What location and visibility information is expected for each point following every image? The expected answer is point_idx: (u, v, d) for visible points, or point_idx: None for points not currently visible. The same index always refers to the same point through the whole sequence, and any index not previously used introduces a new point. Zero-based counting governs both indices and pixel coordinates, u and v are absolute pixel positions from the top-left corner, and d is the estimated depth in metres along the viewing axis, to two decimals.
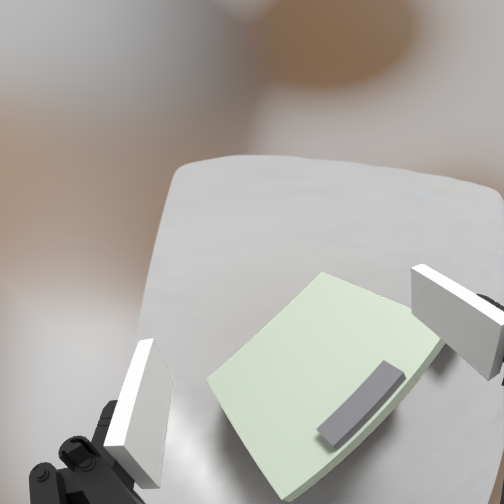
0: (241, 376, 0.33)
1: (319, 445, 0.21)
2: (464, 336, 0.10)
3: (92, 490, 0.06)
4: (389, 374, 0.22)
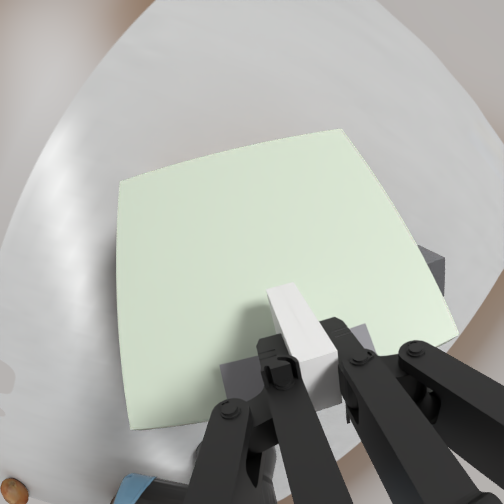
0: (162, 203, 0.23)
1: (212, 384, 0.16)
2: None
3: (281, 409, 0.08)
4: None
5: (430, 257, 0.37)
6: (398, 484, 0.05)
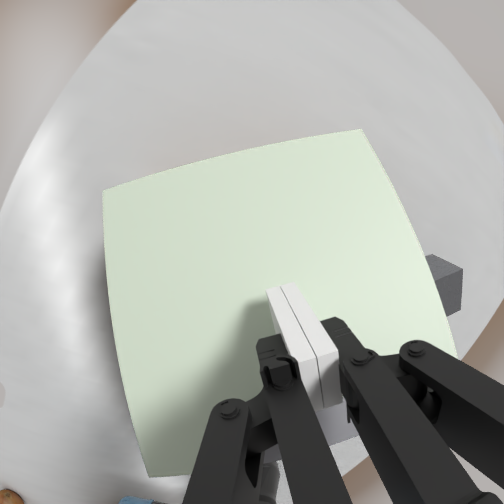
0: (155, 224, 0.20)
1: None
2: None
3: (280, 410, 0.08)
4: None
5: (447, 268, 0.34)
6: (398, 484, 0.05)
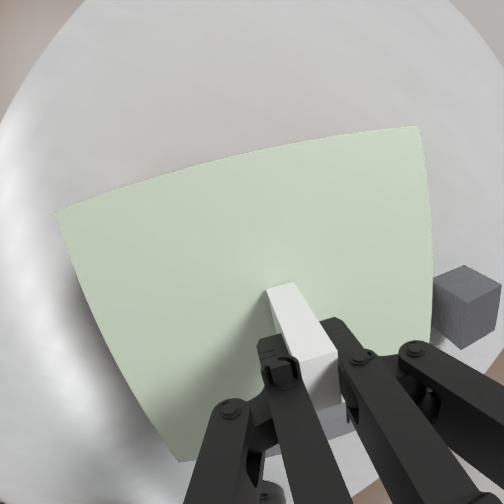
0: (143, 268, 0.15)
1: None
2: None
3: (281, 409, 0.08)
4: (351, 424, 0.19)
5: (485, 284, 0.26)
6: (398, 484, 0.05)
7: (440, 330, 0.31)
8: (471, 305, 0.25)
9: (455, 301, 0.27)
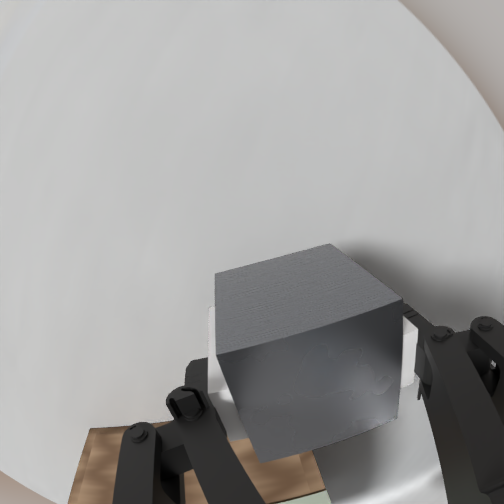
0: None
1: None
2: None
3: (192, 440, 0.07)
4: None
5: None
6: (454, 457, 0.05)
7: None
8: (270, 451, 0.10)
9: None
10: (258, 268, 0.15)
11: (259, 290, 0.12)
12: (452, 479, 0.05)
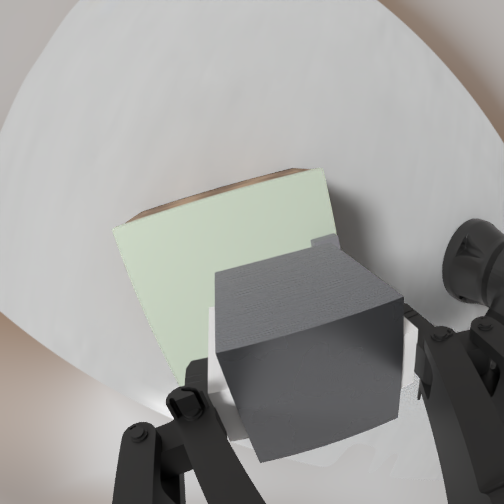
0: None
1: None
2: None
3: (192, 440, 0.07)
4: None
5: None
6: (454, 457, 0.05)
7: None
8: (270, 450, 0.10)
9: None
10: (258, 266, 0.15)
11: (259, 289, 0.12)
12: (452, 479, 0.05)
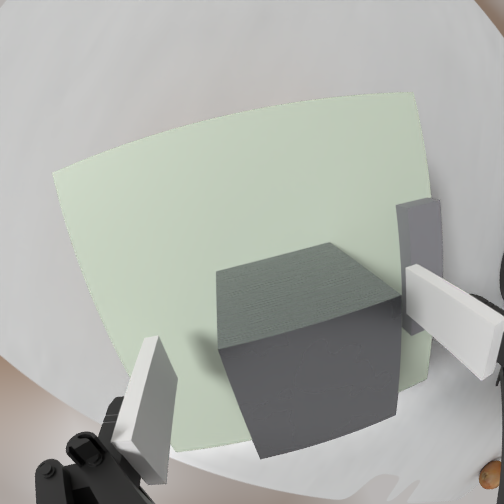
0: (213, 410, 0.18)
1: None
2: (458, 336, 0.10)
3: (99, 486, 0.06)
4: (429, 217, 0.15)
5: None
6: None
7: None
8: (270, 446, 0.10)
9: None
10: (259, 266, 0.15)
11: (260, 287, 0.12)
12: None
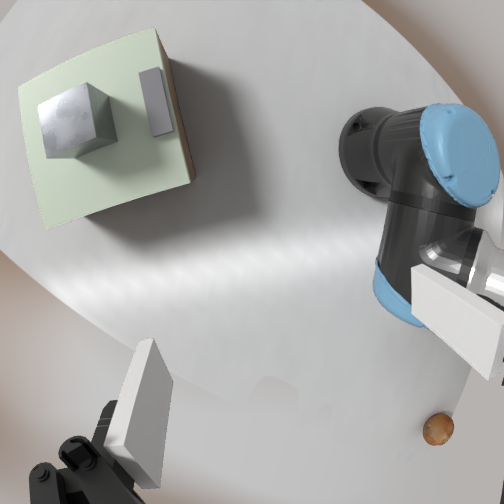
0: (62, 190, 0.32)
1: (162, 142, 0.32)
2: (464, 336, 0.10)
3: (92, 490, 0.06)
4: (152, 74, 0.29)
5: None
6: None
7: (108, 140, 0.29)
8: (49, 149, 0.24)
9: (61, 156, 0.27)
10: None
11: None
12: None
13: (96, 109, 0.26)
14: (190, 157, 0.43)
